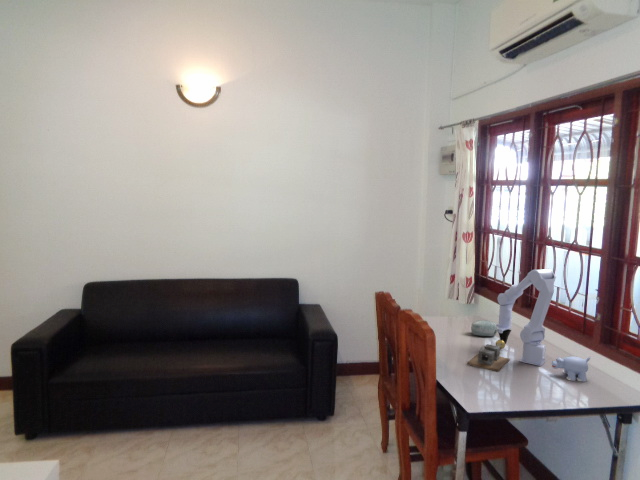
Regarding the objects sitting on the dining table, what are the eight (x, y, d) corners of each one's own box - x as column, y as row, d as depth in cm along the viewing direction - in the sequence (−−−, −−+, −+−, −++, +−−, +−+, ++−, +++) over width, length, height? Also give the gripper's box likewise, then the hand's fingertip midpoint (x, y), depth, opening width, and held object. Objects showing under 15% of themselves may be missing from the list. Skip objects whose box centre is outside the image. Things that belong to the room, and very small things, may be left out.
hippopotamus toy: (548, 369, 222) (550, 349, 221) (585, 373, 218) (587, 352, 217) (554, 379, 211) (555, 357, 210) (592, 383, 208) (594, 361, 207)
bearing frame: (509, 360, 232) (510, 347, 231) (498, 371, 218) (499, 357, 217) (479, 354, 240) (480, 341, 239) (467, 364, 226) (467, 350, 225)
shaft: (505, 349, 242) (505, 340, 241) (490, 362, 224) (491, 352, 224) (495, 347, 245) (496, 338, 244) (481, 360, 227) (481, 350, 226)
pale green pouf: (497, 327, 273) (494, 314, 268) (499, 339, 265) (497, 326, 260) (471, 330, 277) (468, 317, 272) (473, 343, 269) (470, 330, 264)
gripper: (501, 312, 253) (499, 338, 255) (492, 318, 242) (490, 345, 243) (515, 315, 249) (513, 341, 251) (507, 321, 237) (505, 349, 239)
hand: (503, 343), depth 247 cm, fingers closed
